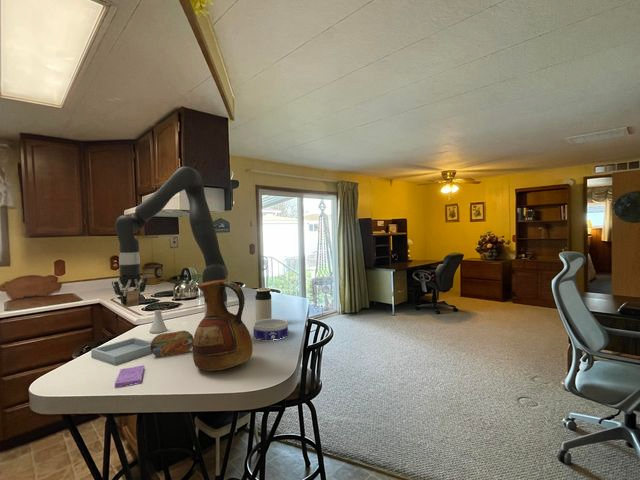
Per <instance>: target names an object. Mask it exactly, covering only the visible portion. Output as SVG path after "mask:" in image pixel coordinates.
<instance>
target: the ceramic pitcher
mask: <svg viewBox="0 0 640 480" xmlns="http://www.w3.org/2000/svg"><path fill="white" fill-rule="evenodd" d="M196 287H197V288H198V289H200V290H201V292H202V294H203V293H204V296H205V300H206V304H207V310H206V316H205V315H204V317H203V318H202V319H201V320H200V321H199V323H198V325H197V327H196V329H195V332H194V336H193V338H194V340H193V346H192V348H191V350H192V354H191V355H192V359H193V363H194V365H195V367H196V368H198V369H199V370H202V371H221V370H225V369H231V368H232V367H233V368H234V367H236V366H238V365H242V364H244V363H245V362H247V361H248V360H250V358H251V357H252V356H253V348H254V347H253V340H252V336H251V334H250V331H249V329H248V327H247V326H246V324H245V323H244V322H243V320H242V316H243V312H244V311H243V310H244V308H245V300H246V298H245V294H244V291H243V289H242V287H241V286H240V285H239V284H237V283H236V282H235V281H233V280H229V279H224V280H217V281H210V282H205V283H203V282H200V283H197V284H196ZM225 287H226V288H228V289H230V290H232V291H233V292H234V293H235V295H236V297H237V300H238V310H237V313H236V314H234V313H232V312H230V311H229V310H228V307H227V308H226V306H225V302H224V296H223V292H224V288H225ZM204 296H203V297H204Z"/></svg>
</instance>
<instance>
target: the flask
mask: <svg viewBox="0 0 640 480" xmlns="http://www.w3.org/2000/svg"><path fill="white" fill-rule="evenodd" d="M153 312H154V317H153V322H152V324H151V327H150V330H149V333H151V334H162V333H164V332H165V333H166V332H167V331H168V328H167V326H166V324H165V322H164V319H163V316H162V313H163V310H161V309H156V310H153Z"/></svg>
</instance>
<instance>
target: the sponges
mask: <svg viewBox="0 0 640 480" xmlns="http://www.w3.org/2000/svg"><path fill="white" fill-rule="evenodd" d="M143 371H145V364H143V365H137V366H133V367H126V368H125V367H124V368H120V370H119V373H118V375H117V377H116V380H115V382H114V388H115V389H116V387H117V388H121V386H122V387H127V386H126V385H128V386H131V385H130V384H133V385H136V384H135V383H139V384H141V383H142V381H143V376H144V372H143ZM141 380H142V381H141ZM140 382H141V383H140Z"/></svg>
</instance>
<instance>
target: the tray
mask: <svg viewBox="0 0 640 480" xmlns="http://www.w3.org/2000/svg"><path fill="white" fill-rule="evenodd" d="M151 342H152V341H149V340H145V339H141V338H136V337H131V338H128V339H124V340H120V341H116V342H113V343H109V344H105V345H102V346H98V347H94V348H92V349H90V354H91V355H90V356H91V358H93V359H95V360H98V361H101V362H104V363H106V364H107V363H108V364H110V365H112V366H113V365H114V366H116V365H119V364H120V365H121V364H123V363H126V362H129V361H132V360H135V359H138V358H141V357H145V356H147V355H150V354H153V353H152V352H151V348H150V346H151Z"/></svg>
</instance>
